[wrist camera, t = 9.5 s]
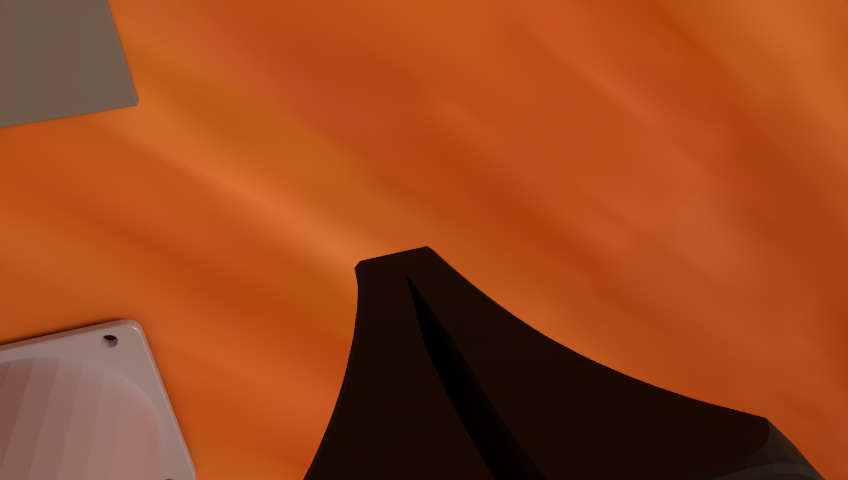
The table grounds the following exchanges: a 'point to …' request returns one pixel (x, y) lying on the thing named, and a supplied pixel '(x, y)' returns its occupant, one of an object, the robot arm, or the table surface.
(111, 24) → the mat
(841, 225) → the table surface
